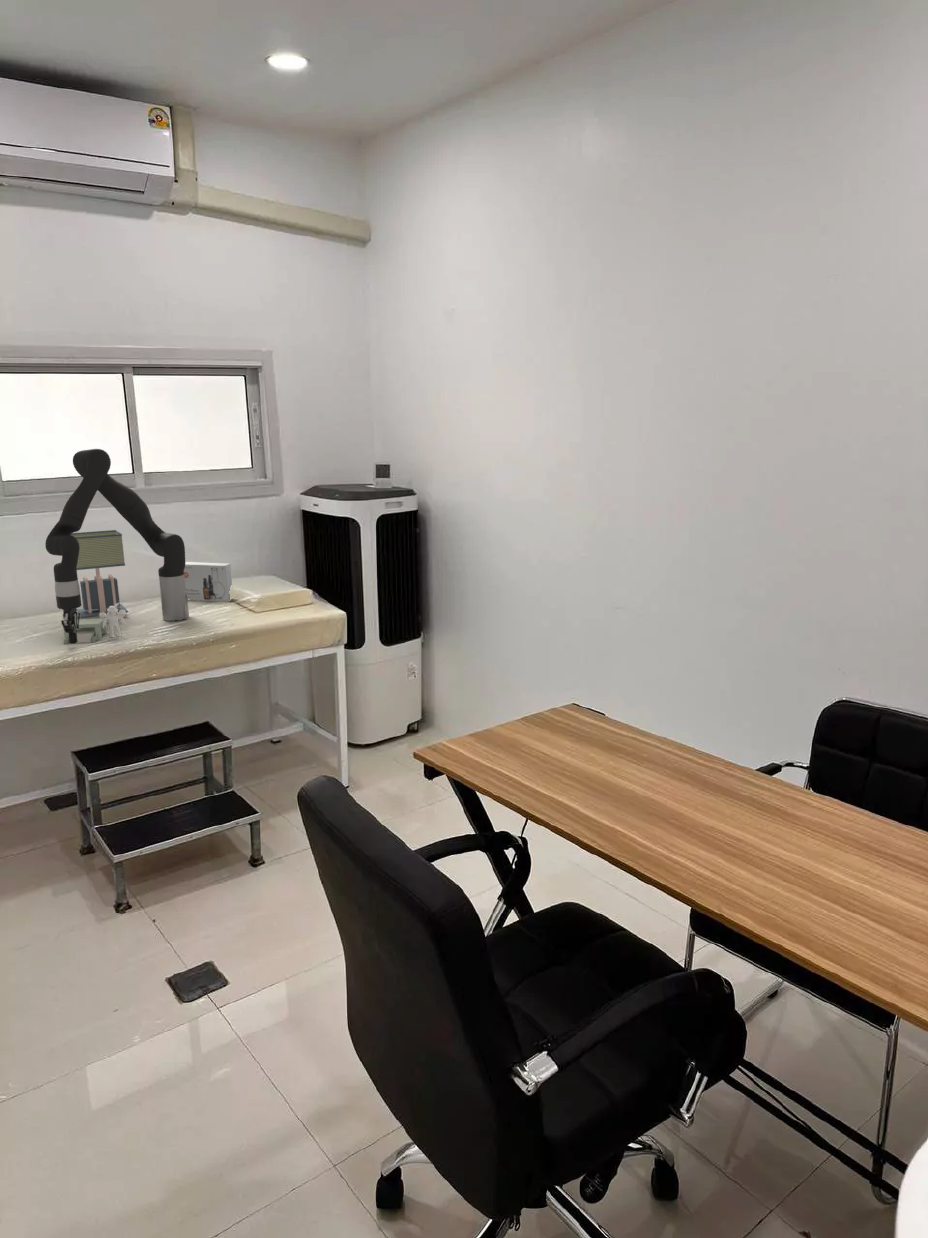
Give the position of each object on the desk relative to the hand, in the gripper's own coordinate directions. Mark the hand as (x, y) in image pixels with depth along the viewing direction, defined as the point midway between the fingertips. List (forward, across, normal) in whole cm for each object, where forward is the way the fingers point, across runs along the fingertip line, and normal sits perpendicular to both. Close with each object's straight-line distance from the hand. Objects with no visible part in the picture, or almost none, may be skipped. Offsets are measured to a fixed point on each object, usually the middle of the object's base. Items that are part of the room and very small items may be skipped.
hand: (73, 643), depth 282 cm
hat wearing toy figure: (+1, +12, -10) cm, 16 cm away
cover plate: (+2, +11, -1) cm, 11 cm away
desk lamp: (+1, +44, +2) cm, 44 cm away
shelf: (+1, +11, -1) cm, 11 cm away
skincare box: (+1, +68, -35) cm, 76 cm away
